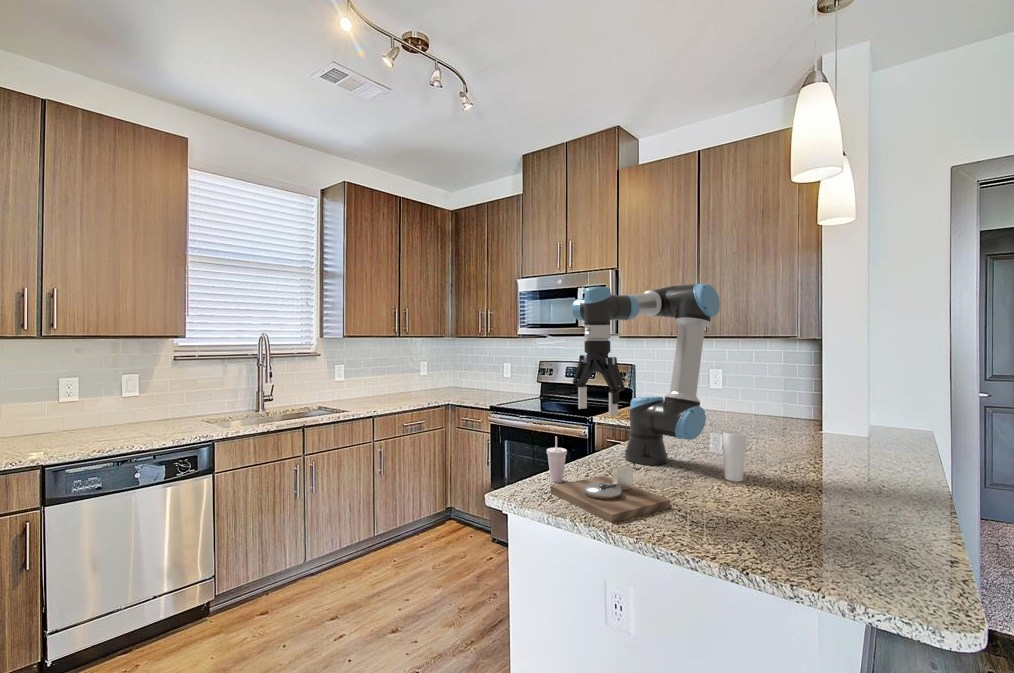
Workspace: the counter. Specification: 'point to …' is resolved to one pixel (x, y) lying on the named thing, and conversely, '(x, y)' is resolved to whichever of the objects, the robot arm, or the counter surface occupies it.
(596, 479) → the panel
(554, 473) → the smoothie
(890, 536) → the counter surface
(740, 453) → the drinking glass
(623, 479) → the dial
